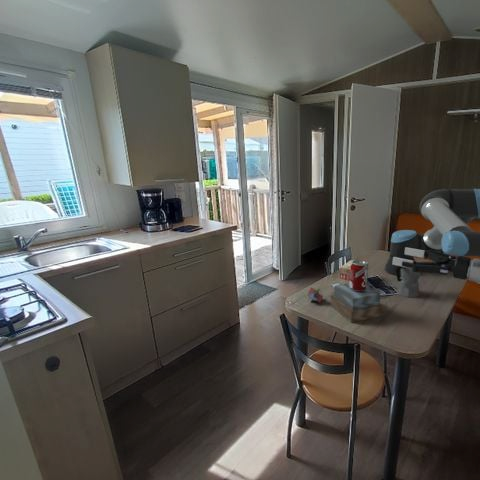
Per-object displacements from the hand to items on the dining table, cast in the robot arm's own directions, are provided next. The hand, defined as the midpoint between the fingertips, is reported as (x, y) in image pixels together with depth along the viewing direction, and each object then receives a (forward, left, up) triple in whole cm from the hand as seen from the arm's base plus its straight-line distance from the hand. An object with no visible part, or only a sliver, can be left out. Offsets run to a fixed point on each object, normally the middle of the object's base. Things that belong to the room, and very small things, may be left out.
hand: (399, 255), depth 109 cm
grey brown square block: (+8, -12, -28) cm, 32 cm away
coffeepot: (-24, -17, -28) cm, 41 cm away
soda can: (+7, -12, -18) cm, 23 cm away
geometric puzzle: (+20, -25, -28) cm, 43 cm away
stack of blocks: (-8, -35, -29) cm, 46 cm away
